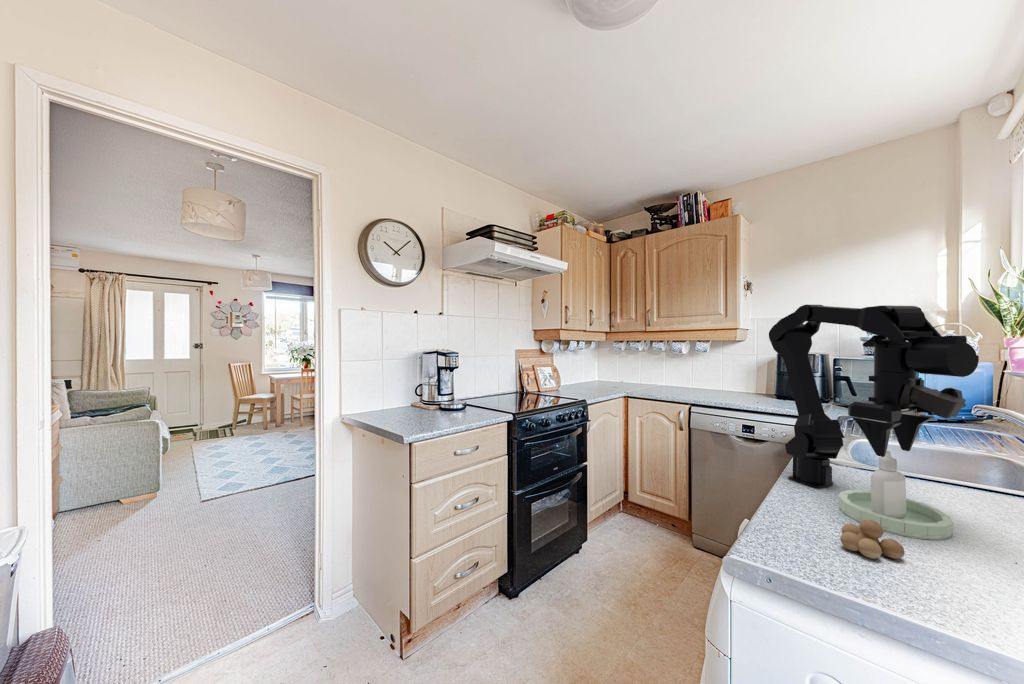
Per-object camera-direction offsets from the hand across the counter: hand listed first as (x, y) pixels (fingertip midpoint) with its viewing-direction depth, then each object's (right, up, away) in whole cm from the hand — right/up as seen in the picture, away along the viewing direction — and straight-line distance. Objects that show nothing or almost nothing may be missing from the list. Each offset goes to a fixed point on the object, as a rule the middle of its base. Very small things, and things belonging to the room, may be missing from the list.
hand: (893, 453), depth 71 cm
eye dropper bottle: (-1, -12, 0) cm, 12 cm away
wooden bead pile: (-15, -13, -10) cm, 22 cm away
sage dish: (0, -13, 0) cm, 13 cm away
